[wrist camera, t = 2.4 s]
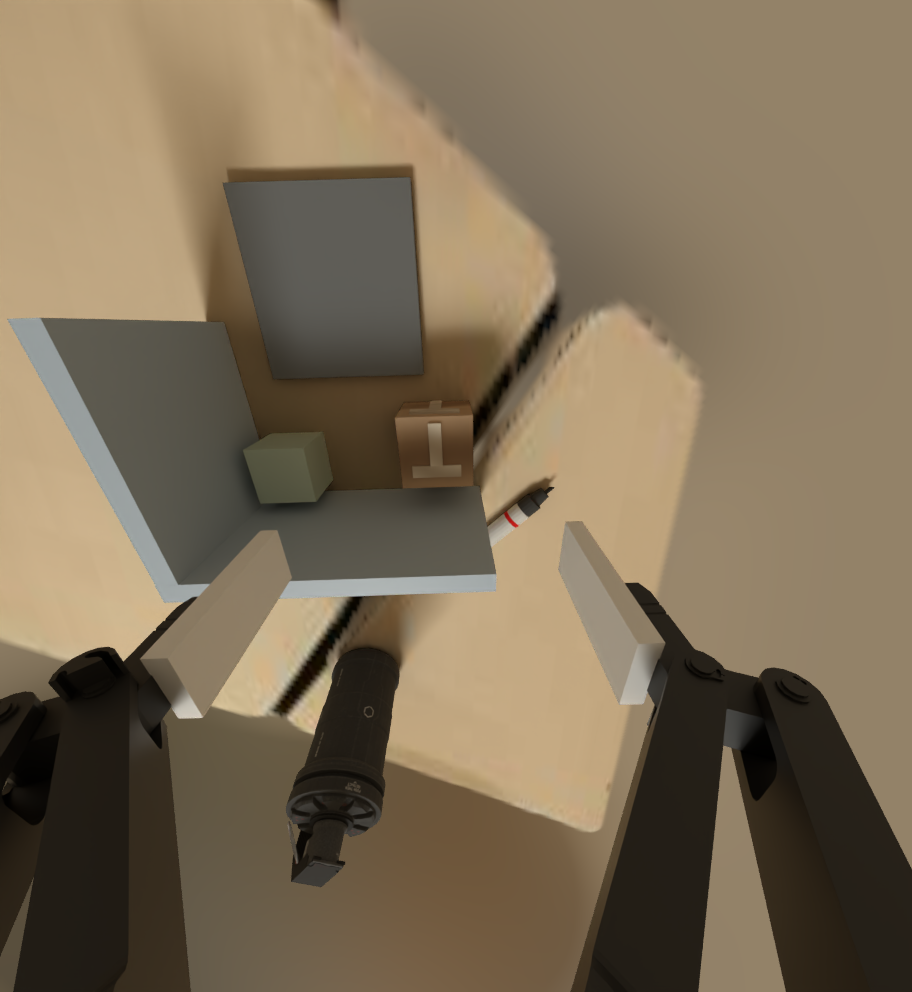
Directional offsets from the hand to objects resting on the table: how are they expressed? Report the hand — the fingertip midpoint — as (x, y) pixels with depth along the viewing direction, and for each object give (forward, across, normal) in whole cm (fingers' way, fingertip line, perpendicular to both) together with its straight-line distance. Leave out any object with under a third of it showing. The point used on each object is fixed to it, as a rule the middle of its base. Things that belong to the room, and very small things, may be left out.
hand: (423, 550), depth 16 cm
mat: (+19, -7, +12) cm, 24 cm away
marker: (+19, +6, -11) cm, 23 cm away
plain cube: (+19, -13, -2) cm, 23 cm away
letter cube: (+19, 0, 0) cm, 19 cm away
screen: (+19, -8, +2) cm, 21 cm away
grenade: (+19, -12, -34) cm, 41 cm away
